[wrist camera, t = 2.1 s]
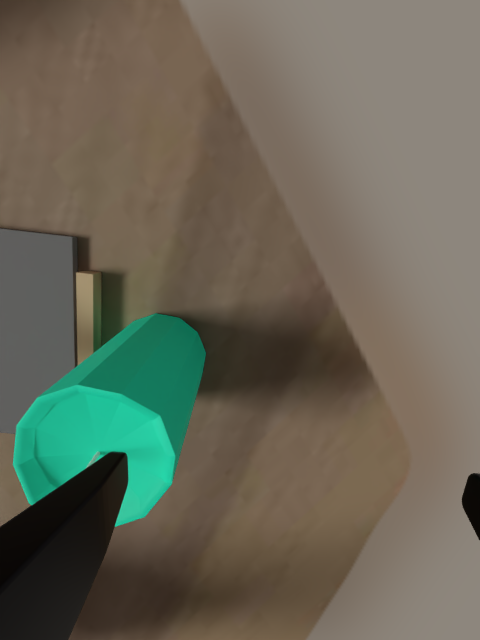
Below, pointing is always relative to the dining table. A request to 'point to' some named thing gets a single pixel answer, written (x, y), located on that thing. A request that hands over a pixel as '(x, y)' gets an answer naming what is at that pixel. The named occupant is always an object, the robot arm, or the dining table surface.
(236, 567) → the dining table surface
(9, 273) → the mat
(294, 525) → the dining table surface
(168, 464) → the candle
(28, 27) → the dining table surface
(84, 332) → the strip
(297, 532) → the dining table surface
